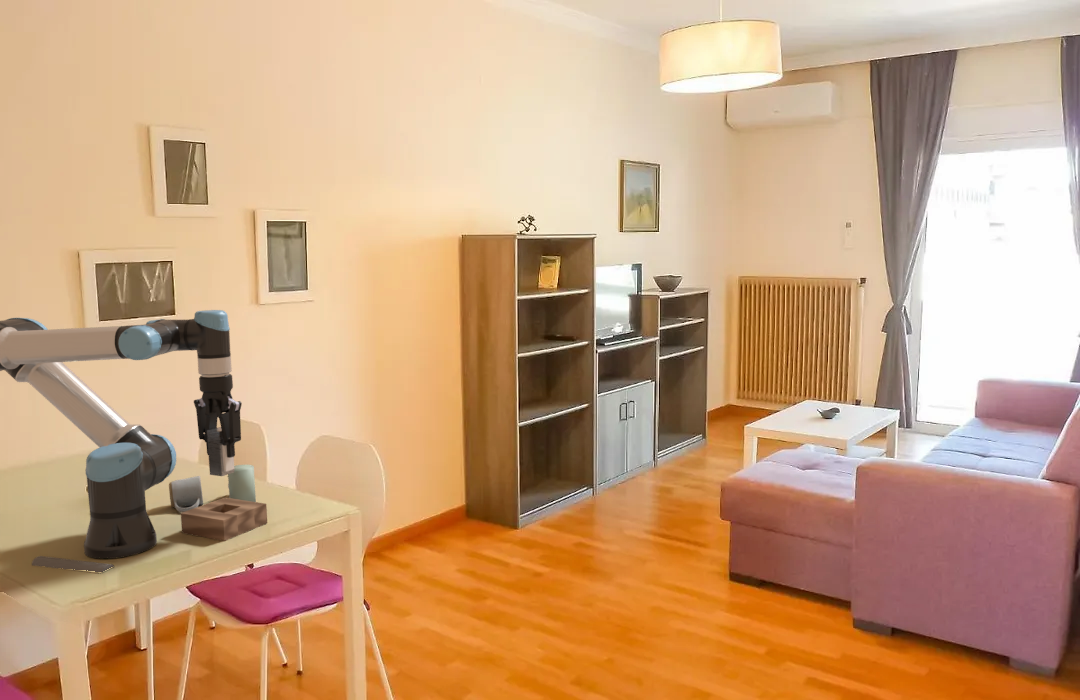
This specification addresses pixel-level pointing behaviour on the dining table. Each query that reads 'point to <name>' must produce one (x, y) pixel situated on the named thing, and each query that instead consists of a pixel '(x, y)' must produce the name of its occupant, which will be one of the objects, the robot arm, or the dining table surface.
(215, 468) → the square peg
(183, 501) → the ceramic mug
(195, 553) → the dining table surface
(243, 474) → the round peg
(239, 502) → the socket block
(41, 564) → the half round rod
